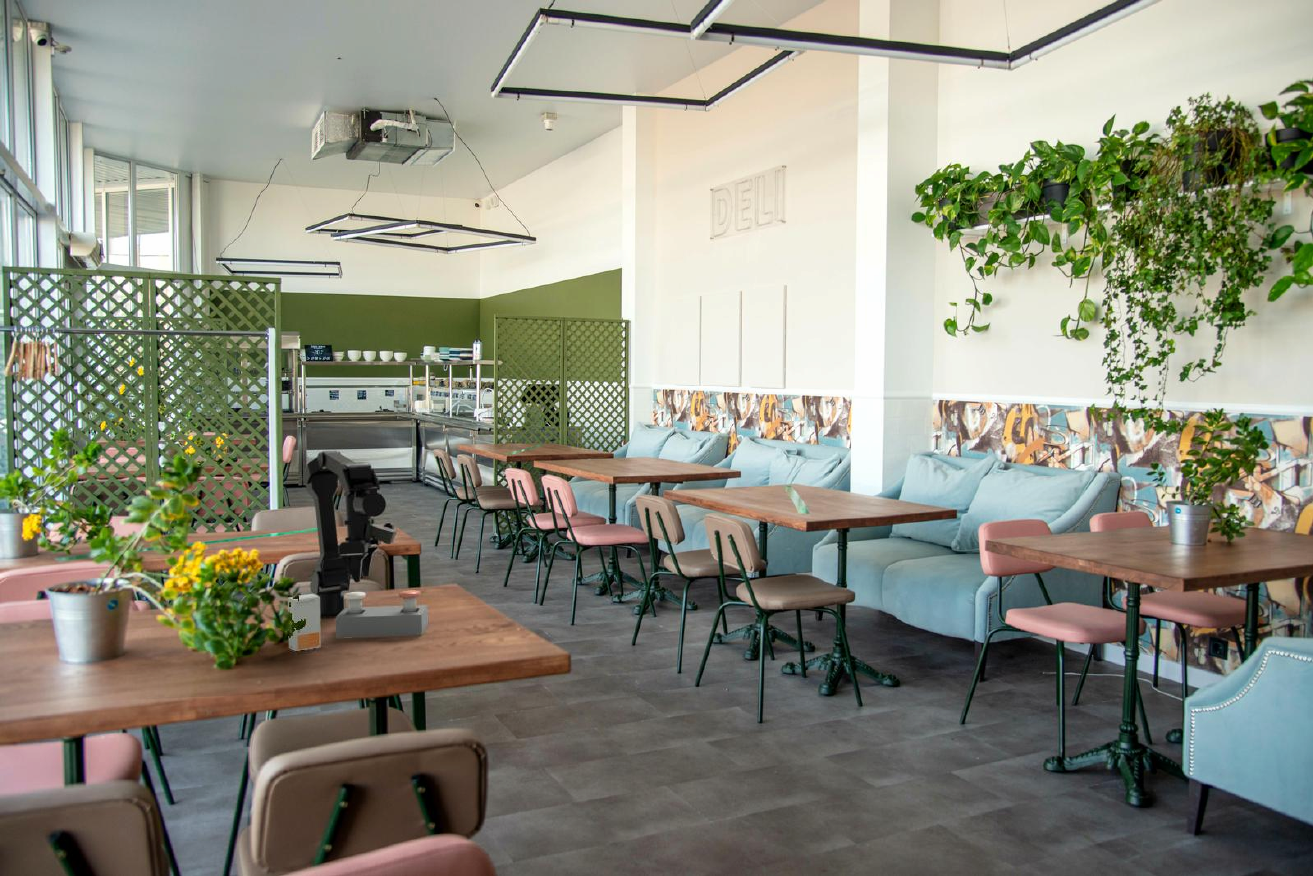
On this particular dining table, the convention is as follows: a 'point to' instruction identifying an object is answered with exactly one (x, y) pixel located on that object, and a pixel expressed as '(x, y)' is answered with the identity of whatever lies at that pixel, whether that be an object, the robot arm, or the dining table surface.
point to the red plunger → (409, 600)
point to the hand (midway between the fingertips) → (362, 579)
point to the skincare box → (311, 612)
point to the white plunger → (354, 602)
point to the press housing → (382, 622)
